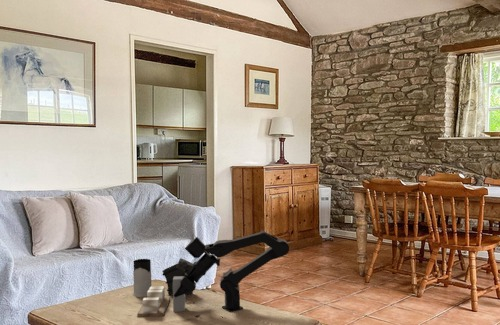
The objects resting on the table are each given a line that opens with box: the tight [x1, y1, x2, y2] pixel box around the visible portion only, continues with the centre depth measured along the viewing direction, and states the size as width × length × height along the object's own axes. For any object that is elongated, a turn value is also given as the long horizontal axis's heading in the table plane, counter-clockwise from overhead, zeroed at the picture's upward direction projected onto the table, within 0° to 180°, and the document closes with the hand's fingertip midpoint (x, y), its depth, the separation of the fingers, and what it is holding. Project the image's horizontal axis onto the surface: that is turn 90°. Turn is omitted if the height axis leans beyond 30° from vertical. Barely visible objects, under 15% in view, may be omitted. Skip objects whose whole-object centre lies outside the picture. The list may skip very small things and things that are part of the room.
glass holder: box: [132, 258, 152, 298], centre depth 220 cm, size 9×14×15 cm, turn 178°
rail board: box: [136, 285, 171, 318], centre depth 198 cm, size 10×20×6 cm, turn 2°
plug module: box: [172, 276, 186, 312], centre depth 195 cm, size 4×4×13 cm
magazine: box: [162, 262, 194, 296], centre depth 216 cm, size 4×13×15 cm, turn 80°
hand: (175, 293), depth 195 cm, fingers open, 7 cm apart
